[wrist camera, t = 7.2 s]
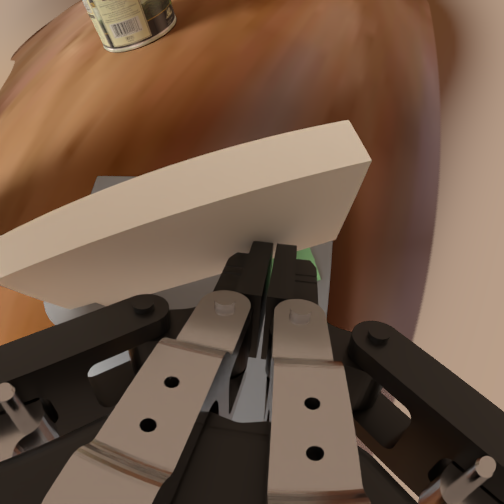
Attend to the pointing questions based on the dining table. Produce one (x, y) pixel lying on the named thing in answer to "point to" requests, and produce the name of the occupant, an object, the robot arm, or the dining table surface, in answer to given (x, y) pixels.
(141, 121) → the dining table surface
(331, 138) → the lever handle
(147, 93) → the dining table surface
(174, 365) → the robot arm
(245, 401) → the board
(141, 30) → the coffee can
